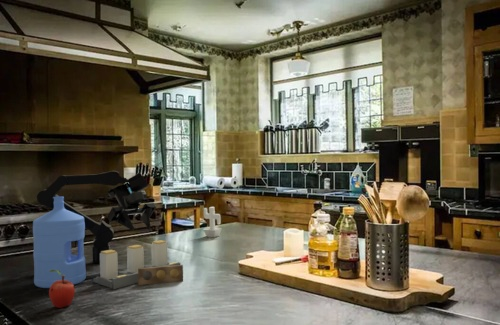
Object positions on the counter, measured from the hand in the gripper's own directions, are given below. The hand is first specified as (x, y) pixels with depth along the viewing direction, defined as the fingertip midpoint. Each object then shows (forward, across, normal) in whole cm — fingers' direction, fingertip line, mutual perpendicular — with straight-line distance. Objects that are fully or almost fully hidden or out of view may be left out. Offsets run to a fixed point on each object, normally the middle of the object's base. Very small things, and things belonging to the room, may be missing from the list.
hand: (141, 228), depth 161 cm
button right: (+17, -1, 0) cm, 17 cm away
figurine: (-5, +57, +25) cm, 62 cm away
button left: (+17, -21, 0) cm, 27 cm away
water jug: (+8, -30, +11) cm, 33 cm away
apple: (+26, -41, -6) cm, 49 cm away
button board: (+19, -11, 0) cm, 22 cm away
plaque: (+28, -10, -8) cm, 31 cm away
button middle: (+17, -11, 0) cm, 20 cm away
